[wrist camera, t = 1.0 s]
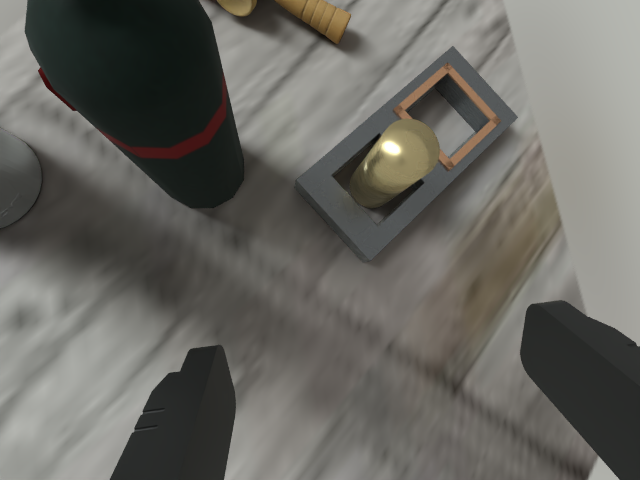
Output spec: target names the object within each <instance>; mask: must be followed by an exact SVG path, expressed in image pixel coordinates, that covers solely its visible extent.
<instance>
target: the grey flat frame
mask: <svg viewBox="0 0 640 480" xmlns="http://www.w3.org/2000/svg"><path fill="white" fill-rule="evenodd" d="M434 88H436V89H437V90H438V91H439V92H440V93H441V94H442V95H443V96H444V97H445V99H446V100H447V101H448V102H449V103H450V104H451V105H452V106H453V107H454V108H455V110H456V111H457V112H458V113H459V114H460V115H461V116H462V117H463V118H464V119H465V120H466V122H467V123H468V124H469V125H470V126H471V127H472V128H473V129H474V130H475V132H474V133H473V134H472V135H471V136H470V137H469V138H468V139H467V140H466V141H465V142H464V143H463V144H462V145H461V146H460V147H459V148H458V149H456V150H455V151H454V152H453V153H452V154H451V155H450V156H449V157H447V156H446V155H445V154H444V153H443V152H442V151H441V149H440V155H439V159H438V162H437V164H436V166H435V167H434V169H433V170H432V171H431V172H429V173H428V174H427V175H425V176H424V177H422V178H421V179H419V180H418V181H417V182H415V183H414V184H412V185H411V187H412V188H413V189H414V190H413V191H412V192H411V193H410V194H409V195H408V196H407V197H406V198H405V199H404V200H403V201H402V202H401V203H400V204H398V205H397V206H396V207H395V208H394V209H393V210H392V211H391V212H390V213H389V214H388V215H387V216H386V217H385V218H384V219H383V220H382V221H381V222H379V223H378V224H377V225H376V224H375V223H374V222H373V221H372V219H371V218H370V217H369V216H368V215H367V214H366V213H365V212H364V211H363V210H362V209H361V207H360V206H359V205H358V204H357V203H356V202H355V201H354V200H353V199H352V198H351V196H350V195H349V194H348V193H347V192H346V191H345V190H344V189H343V188H342V187H341V186H340V184H339V183H338V182H337V181H336V180H335V179H334V178H333V177H334V176H335V175H336V174H337V173H339V172H340V171H341V170H342V169H343V168H344V167H345V166H346V165H348V164H349V163H350V162H351V161H352V160H353V159H354V158H356V157H357V156H358V155H359V154H360V153H361V152H362V151H364V150H365V149H366V148H367V147H368V146H369V145H370V144H373V145H375V144H376V142H377V141H378V140H379V138H380V137H381V136H382V134H383V133H384V132H385V130H386V129H387V128H388V127H389V126H390V125H391V124H392V123H394V122H396V121H398V120H401V119H412V118H411V117H410V116H409V114H408V113H407V112H408V111H409V110H410V109H411V108H413V107H414V106H415V105H416V104H417V103H418V102H419V101H421V100H422V99H423V98H424V97H425V96H426V95H427V94H428V93H430V92H431V91H432V90H433V89H434ZM517 118H518V117H517V116H516V115H515V113H514V112H513V111H512V110H511V109H510V108H509V107H508V106H507V105H506V104H505V102H504V101H503V100H502V99H501V98H500V97H499V96H498V95H497V94H496V93H495V92H494V90H493V89H492V88H491V87H490V86H489V85H488V84H487V83H486V82H485V81H484V79H483V78H482V77H481V76H480V75H479V74H478V73H477V72H476V71H475V70H474V68H473V67H472V66H471V65H470V64H469V63H468V62H467V61H466V60H465V59H464V58H463V56H462V55H461V54H460V53H459V52H458V51H457V50H456V49H455V48H454V47H453V46H452V47H451V48H450V49H449V50H448V51H446V52H445V53H444V54H443V55H442V56H441V57H439V58H438V59H437V60H436V61H435V62H434V63H432V64H431V65H430V66H429V67H428V68H427V69H425V70H424V71H423V72H422V73H421V74H420V75H418V76H417V77H416V78H415V79H414V80H413V81H411V82H410V83H409V84H408V85H407V86H406V87H404V88H403V89H402V90H401V91H400V92H398V93H397V94H396V95H395V96H394V97H393V98H391V99H390V100H389V101H388V102H387V103H386V104H384V105H383V106H382V107H381V108H380V109H379V110H377V111H376V112H375V113H374V114H373V115H372V116H370V117H369V118H368V119H367V120H366V121H365V122H363V123H362V124H361V125H360V126H359V127H358V128H356V129H355V130H354V131H353V132H352V133H351V134H349V135H348V136H347V137H346V138H345V139H344V140H342V141H341V142H340V143H339V144H338V145H337V146H335V147H334V148H333V149H332V150H331V151H330V152H328V153H327V154H326V155H325V156H324V157H323V158H321V159H320V160H319V161H318V162H317V163H315V164H314V165H313V166H312V167H311V168H310V169H308V170H307V171H306V172H305V173H304V174H303V175H301V176H300V177H299V178H298V179H297V180H296V183H295V187H294V188H295V189H296V190H297V191H298V192H299V193H300V194H301V195H302V196H303V197H304V199H305V200H306V201H307V202H308V203H309V204H310V205H311V206H312V207H313V208H314V209H315V211H316V212H317V213H318V214H319V215H320V216H321V217H322V218H323V219H324V220H325V221H326V223H327V224H328V225H329V226H330V227H331V228H332V229H333V230H334V231H335V232H336V233H337V235H338V236H339V237H340V238H341V239H342V240H343V241H344V242H345V243H346V244H347V245H348V247H349V248H350V249H351V250H352V251H353V252H354V253H355V254H356V255H357V256H358V257H359V259H360V260H361V261H362V262H367V261H371V260H372V259H373V258H374V257H375V256H376V255H377V254H378V253H379V252H380V251H381V250H382V249H383V248H384V247H385V246H386V245H387V244H388V243H389V242H390V241H391V240H392V239H393V238H394V237H395V236H396V235H397V234H399V233H400V232H401V231H402V230H403V229H404V228H405V227H406V226H407V225H408V224H409V223H410V222H411V221H412V220H413V219H414V218H415V217H416V216H417V215H418V214H419V213H420V212H421V211H422V210H423V209H424V208H425V207H426V206H427V205H428V204H429V203H430V202H431V201H432V200H433V199H435V198H436V197H437V196H438V195H439V194H440V193H441V192H442V191H443V190H444V189H445V188H446V187H447V186H448V185H449V184H450V183H451V182H452V181H453V180H454V179H455V178H456V177H457V176H458V175H459V174H460V173H461V172H462V171H463V170H464V169H465V168H466V167H467V166H468V165H470V164H471V163H472V162H473V161H474V160H475V159H476V158H477V157H478V156H479V155H480V154H481V153H482V152H483V151H484V150H485V149H486V148H487V147H488V146H489V145H490V144H491V143H492V142H493V141H494V140H495V139H496V138H497V137H498V136H499V135H500V134H501V133H502V132H503V131H504V130H506V129H507V128H508V127H509V126H510V125H511V124H512V123H513V122H514V121H515V120H516V119H517Z"/></svg>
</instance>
